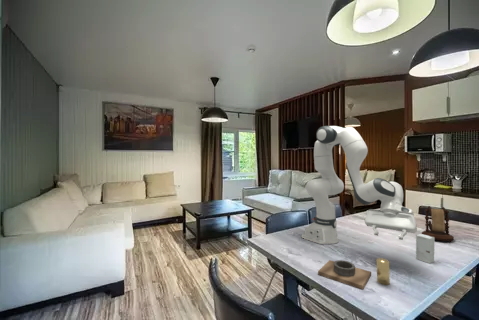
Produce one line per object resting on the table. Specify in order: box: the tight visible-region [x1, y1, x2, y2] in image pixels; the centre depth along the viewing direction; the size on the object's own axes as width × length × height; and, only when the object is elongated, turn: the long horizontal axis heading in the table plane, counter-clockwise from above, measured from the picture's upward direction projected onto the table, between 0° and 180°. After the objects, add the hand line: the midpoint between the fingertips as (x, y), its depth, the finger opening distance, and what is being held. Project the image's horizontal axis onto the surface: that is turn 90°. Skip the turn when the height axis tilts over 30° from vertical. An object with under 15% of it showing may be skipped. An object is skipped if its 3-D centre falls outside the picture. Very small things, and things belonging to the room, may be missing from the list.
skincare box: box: [415, 233, 436, 264], centre depth 110 cm, size 6×4×12 cm
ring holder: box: [317, 259, 372, 290], centre depth 98 cm, size 18×14×4 cm
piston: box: [376, 257, 391, 286], centre depth 92 cm, size 4×4×9 cm
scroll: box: [421, 205, 455, 243], centre depth 137 cm, size 15×15×20 cm
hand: (388, 236), depth 101 cm, fingers open, 8 cm apart
